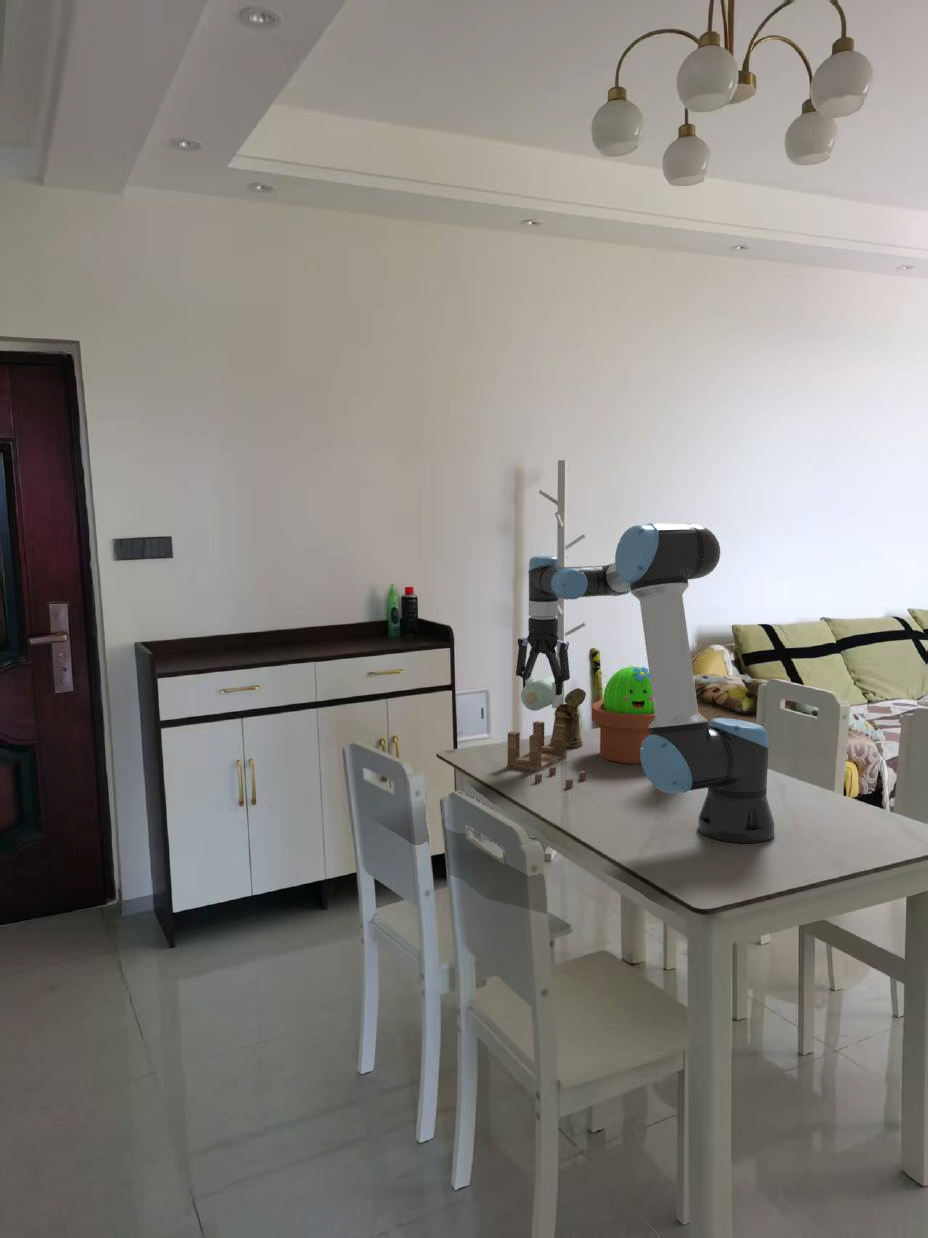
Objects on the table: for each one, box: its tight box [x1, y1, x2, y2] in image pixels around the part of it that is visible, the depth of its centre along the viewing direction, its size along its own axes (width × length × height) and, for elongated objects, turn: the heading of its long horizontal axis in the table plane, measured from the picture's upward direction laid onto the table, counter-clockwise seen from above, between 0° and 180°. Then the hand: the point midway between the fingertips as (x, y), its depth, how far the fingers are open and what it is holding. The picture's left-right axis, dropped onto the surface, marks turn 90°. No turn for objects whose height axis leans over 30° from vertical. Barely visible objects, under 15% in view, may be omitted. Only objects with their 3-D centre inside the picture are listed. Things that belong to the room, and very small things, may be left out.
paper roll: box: [520, 676, 564, 712], centre depth 239 cm, size 14×7×7 cm, turn 148°
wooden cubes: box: [534, 765, 587, 790], centre depth 229 cm, size 9×10×2 cm
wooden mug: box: [549, 687, 587, 749], centre depth 261 cm, size 9×14×18 cm, turn 14°
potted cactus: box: [591, 664, 655, 765], centre depth 250 cm, size 22×22×25 cm
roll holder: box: [506, 720, 567, 773], centre depth 246 cm, size 16×9×9 cm, turn 147°
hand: (542, 705), depth 240 cm, fingers closed on paper roll, 7 cm apart
